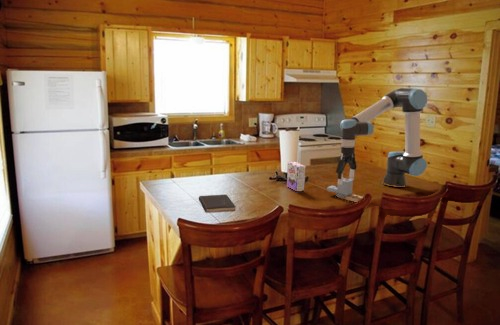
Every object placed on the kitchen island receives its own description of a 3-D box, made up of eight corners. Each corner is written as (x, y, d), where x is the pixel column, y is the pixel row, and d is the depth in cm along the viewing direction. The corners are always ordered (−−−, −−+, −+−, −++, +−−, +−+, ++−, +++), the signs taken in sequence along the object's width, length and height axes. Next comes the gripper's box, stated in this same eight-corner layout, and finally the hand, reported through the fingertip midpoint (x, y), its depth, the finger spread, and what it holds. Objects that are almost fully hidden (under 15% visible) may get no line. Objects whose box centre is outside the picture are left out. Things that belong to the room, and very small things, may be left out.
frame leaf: (353, 197, 238) (353, 193, 237) (363, 200, 233) (364, 196, 233) (345, 200, 231) (345, 196, 231) (356, 203, 227) (357, 199, 226)
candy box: (286, 186, 258) (287, 161, 254) (294, 186, 260) (295, 161, 257) (296, 192, 245) (297, 166, 242) (304, 192, 247) (306, 165, 244)
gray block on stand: (341, 195, 242) (343, 177, 239) (352, 197, 237) (353, 179, 235) (335, 197, 236) (337, 179, 234) (346, 200, 232) (347, 181, 230)
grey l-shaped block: (332, 188, 245) (332, 175, 244) (352, 193, 236) (353, 179, 235) (326, 190, 240) (327, 177, 239) (346, 195, 232) (347, 181, 230)
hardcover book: (226, 198, 232) (226, 194, 231) (235, 210, 210) (235, 206, 210) (198, 199, 227) (198, 195, 227) (205, 212, 206) (205, 208, 205)
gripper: (352, 143, 242) (350, 177, 247) (331, 148, 224) (329, 184, 228) (364, 144, 237) (361, 179, 242) (343, 150, 219) (340, 187, 223)
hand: (345, 182), depth 235 cm, fingers open, 13 cm apart
